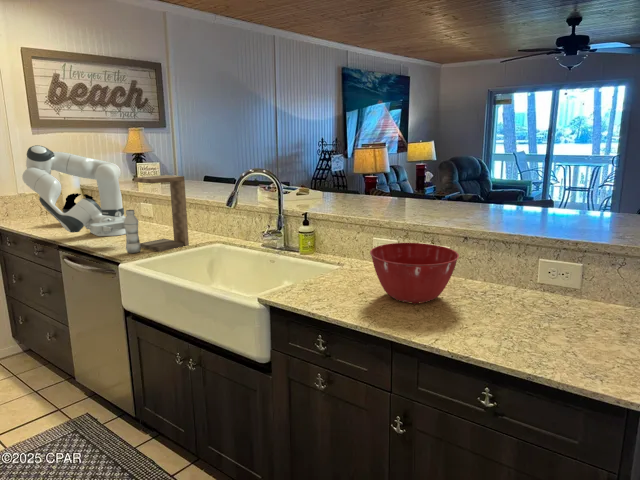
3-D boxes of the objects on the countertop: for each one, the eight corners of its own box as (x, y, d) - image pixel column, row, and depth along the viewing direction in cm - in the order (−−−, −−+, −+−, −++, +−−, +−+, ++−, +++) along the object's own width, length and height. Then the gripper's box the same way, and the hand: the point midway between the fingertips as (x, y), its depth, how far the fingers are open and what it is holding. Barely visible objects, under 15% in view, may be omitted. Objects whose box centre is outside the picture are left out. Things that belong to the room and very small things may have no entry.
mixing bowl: (469, 310, 150) (472, 261, 146) (378, 313, 148) (379, 264, 144) (440, 283, 177) (442, 241, 174) (363, 285, 175) (363, 243, 172)
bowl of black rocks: (62, 222, 308) (58, 192, 304) (96, 219, 318) (93, 190, 314) (66, 227, 291) (62, 196, 287) (102, 223, 302) (99, 193, 298)
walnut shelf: (137, 247, 237) (131, 177, 230) (169, 241, 251) (164, 174, 244) (157, 252, 227) (151, 179, 220) (188, 245, 241) (184, 176, 234)
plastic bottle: (144, 251, 229) (140, 209, 225) (134, 255, 223) (130, 211, 218) (133, 250, 231) (129, 208, 227) (123, 254, 225) (119, 211, 220)
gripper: (83, 221, 229) (98, 224, 221) (124, 215, 245) (139, 218, 236) (85, 234, 230) (100, 238, 222) (125, 228, 246) (140, 231, 238)
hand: (120, 227), depth 229 cm, fingers open, 8 cm apart
